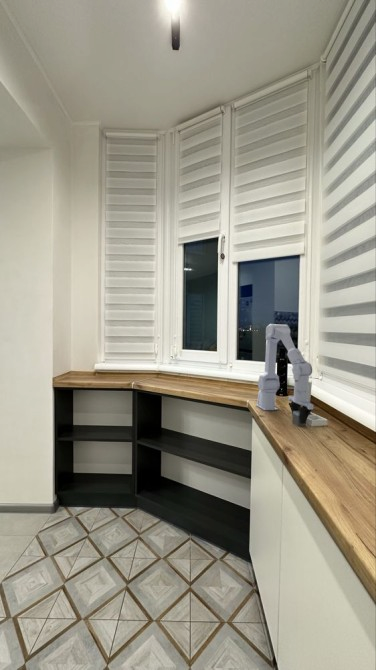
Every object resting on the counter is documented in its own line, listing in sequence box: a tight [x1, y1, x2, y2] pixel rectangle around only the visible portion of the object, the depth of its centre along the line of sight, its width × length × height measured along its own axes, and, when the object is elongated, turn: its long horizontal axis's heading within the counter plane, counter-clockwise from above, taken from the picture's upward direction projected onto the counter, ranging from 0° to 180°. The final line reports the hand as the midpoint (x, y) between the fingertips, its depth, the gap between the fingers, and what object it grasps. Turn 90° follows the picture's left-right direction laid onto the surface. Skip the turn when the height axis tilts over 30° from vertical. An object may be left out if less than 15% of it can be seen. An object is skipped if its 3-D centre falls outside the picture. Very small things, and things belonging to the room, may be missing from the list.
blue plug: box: [292, 411, 307, 427], centre depth 131 cm, size 4×4×6 cm
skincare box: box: [308, 380, 313, 403], centre depth 157 cm, size 8×6×15 cm
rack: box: [291, 411, 328, 427], centre depth 137 cm, size 14×8×2 cm, turn 15°
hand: (299, 421), depth 131 cm, fingers open, 5 cm apart
